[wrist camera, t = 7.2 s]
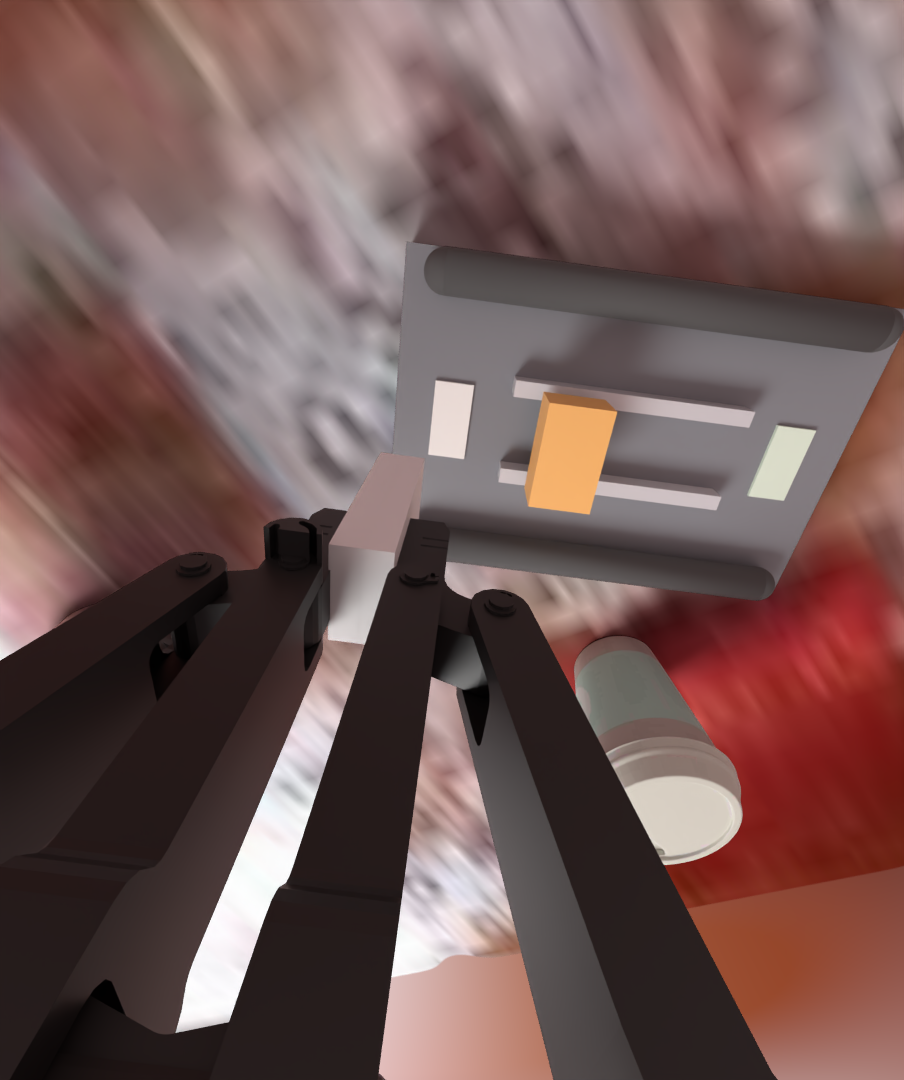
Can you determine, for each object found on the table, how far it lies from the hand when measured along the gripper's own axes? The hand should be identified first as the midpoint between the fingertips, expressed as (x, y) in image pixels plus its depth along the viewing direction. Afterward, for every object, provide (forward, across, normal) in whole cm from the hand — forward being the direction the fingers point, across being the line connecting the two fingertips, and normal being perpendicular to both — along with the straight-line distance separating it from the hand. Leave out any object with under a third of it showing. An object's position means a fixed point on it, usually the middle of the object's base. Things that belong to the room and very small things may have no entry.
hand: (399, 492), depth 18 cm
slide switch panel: (+13, +10, 0) cm, 16 cm away
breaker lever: (+11, +7, 0) cm, 13 cm away
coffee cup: (+13, +15, -17) cm, 26 cm away
